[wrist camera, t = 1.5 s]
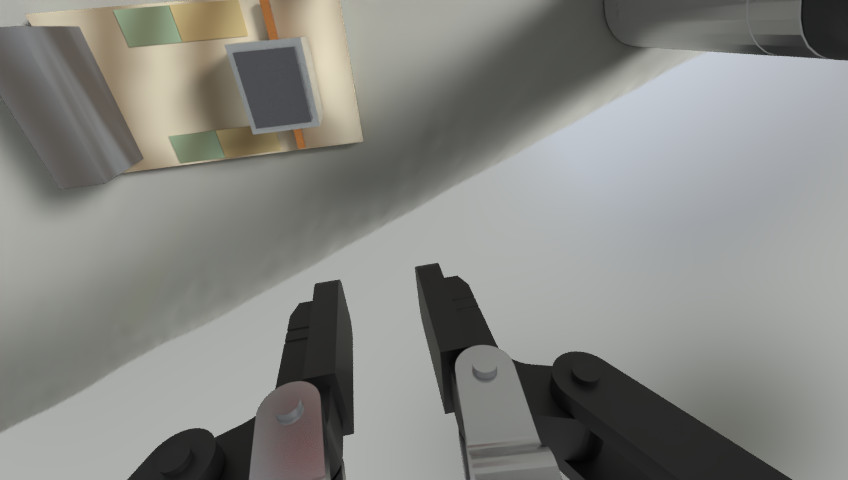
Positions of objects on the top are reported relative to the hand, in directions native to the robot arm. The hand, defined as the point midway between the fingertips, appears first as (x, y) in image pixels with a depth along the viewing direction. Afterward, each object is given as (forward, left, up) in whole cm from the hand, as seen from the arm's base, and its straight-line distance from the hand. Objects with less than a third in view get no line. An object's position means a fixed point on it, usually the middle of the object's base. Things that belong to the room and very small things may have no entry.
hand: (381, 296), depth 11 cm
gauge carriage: (+6, -4, -26) cm, 26 cm away
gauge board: (+11, -4, -27) cm, 29 cm away
